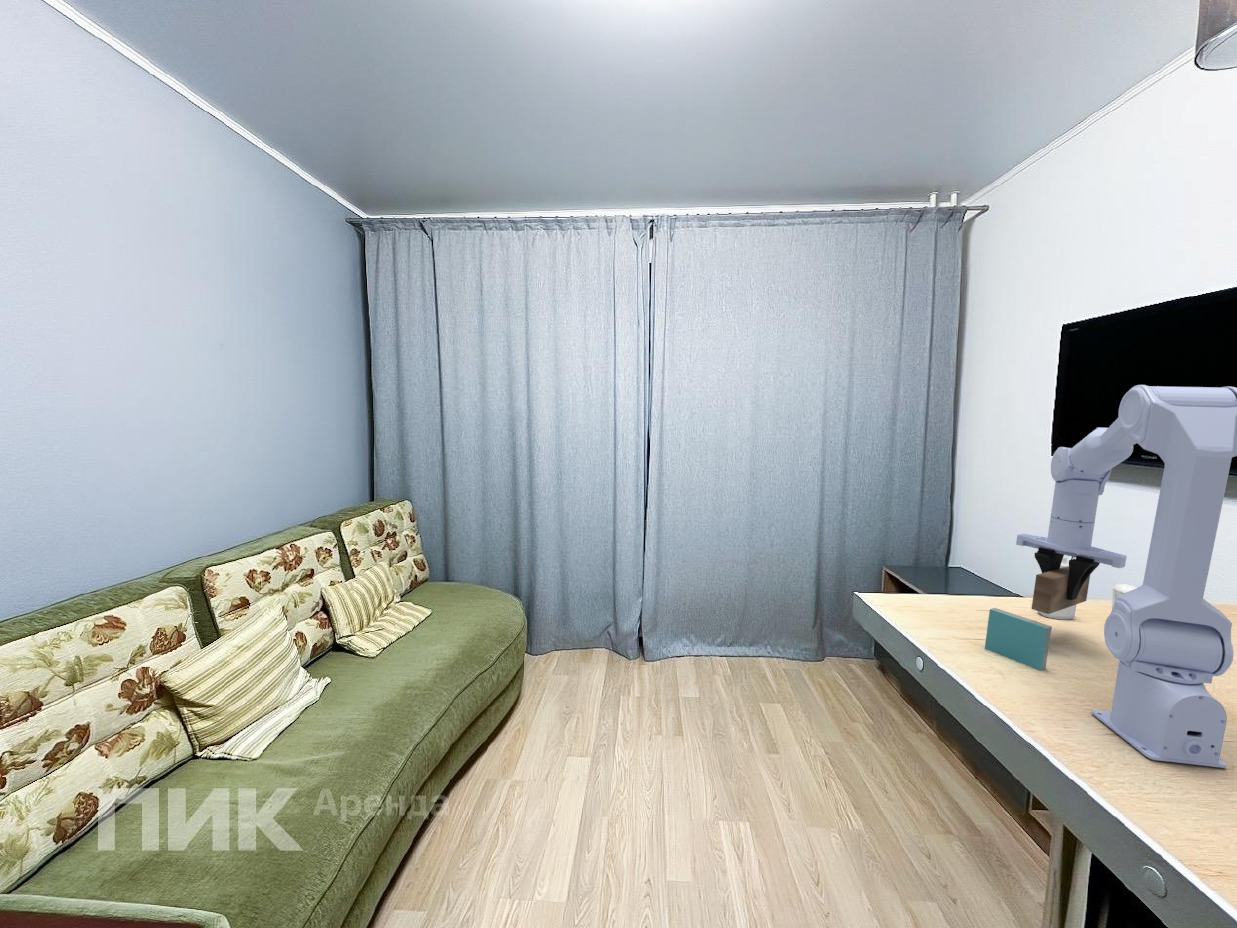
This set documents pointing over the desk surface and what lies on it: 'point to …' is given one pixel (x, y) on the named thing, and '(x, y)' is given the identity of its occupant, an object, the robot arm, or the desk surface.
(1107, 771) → the desk surface
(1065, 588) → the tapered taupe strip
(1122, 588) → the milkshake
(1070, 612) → the eye dropper bottle
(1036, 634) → the tile
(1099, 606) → the desk surface
